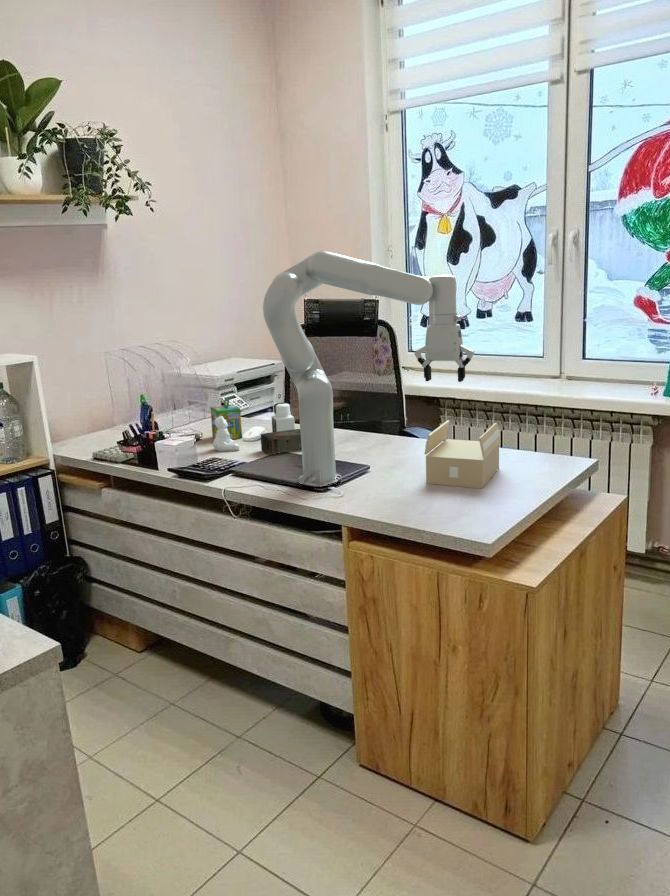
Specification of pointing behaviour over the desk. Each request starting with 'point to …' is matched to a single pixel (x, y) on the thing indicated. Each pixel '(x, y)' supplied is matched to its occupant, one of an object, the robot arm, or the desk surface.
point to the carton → (461, 464)
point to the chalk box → (227, 419)
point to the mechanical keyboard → (119, 457)
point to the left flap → (436, 437)
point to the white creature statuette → (223, 437)
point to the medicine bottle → (282, 418)
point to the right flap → (489, 440)
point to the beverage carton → (281, 441)
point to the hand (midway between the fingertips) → (444, 380)
